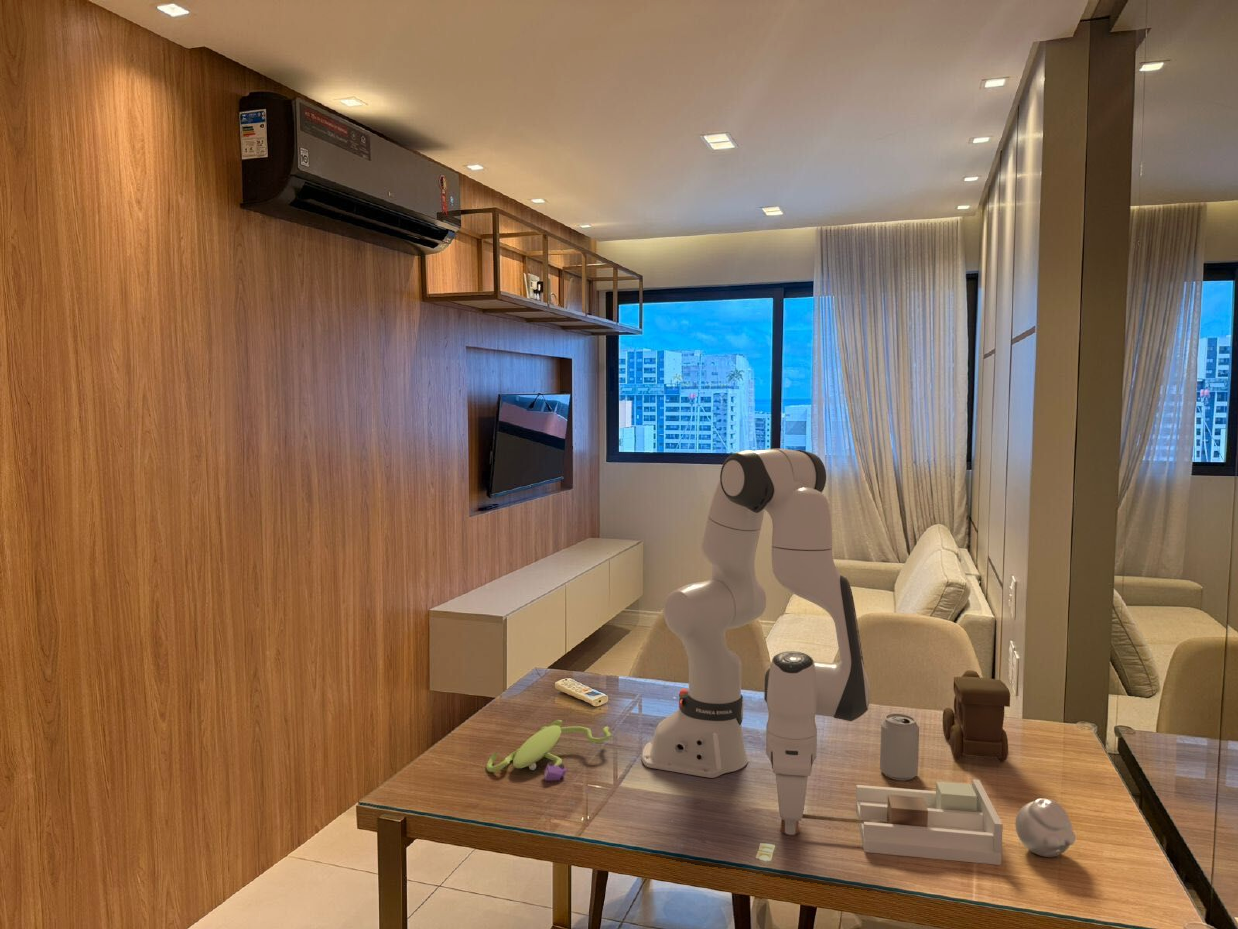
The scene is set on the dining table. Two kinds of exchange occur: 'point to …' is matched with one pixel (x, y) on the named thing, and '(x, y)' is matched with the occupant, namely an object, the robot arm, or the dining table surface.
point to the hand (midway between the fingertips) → (789, 821)
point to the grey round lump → (1044, 828)
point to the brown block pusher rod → (898, 812)
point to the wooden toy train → (977, 717)
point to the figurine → (543, 750)
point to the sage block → (955, 797)
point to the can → (899, 746)
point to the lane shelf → (931, 828)
